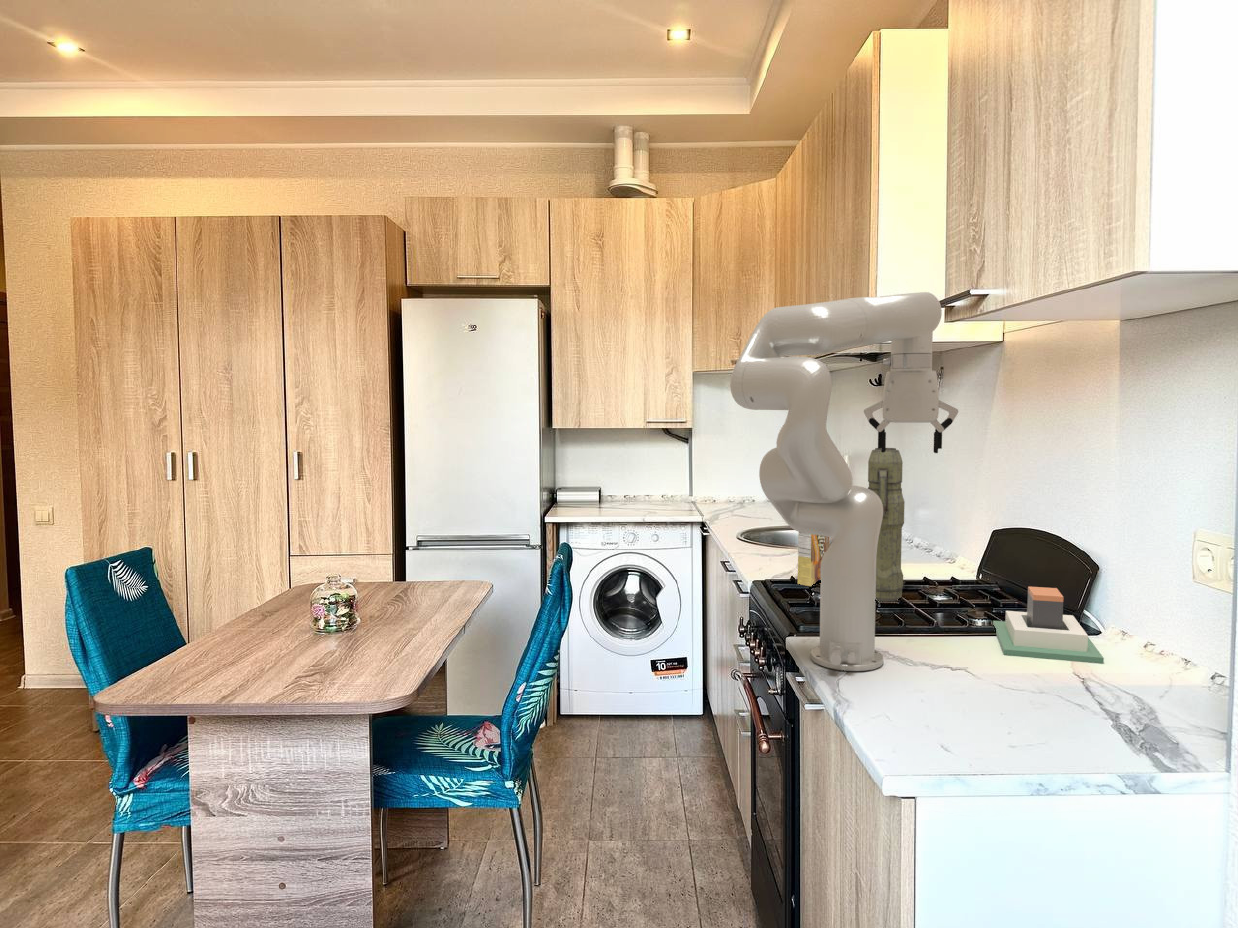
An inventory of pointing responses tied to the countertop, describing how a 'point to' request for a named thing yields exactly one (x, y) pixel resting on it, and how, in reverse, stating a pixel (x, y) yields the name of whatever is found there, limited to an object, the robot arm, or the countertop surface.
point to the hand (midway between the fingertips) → (909, 452)
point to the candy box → (810, 557)
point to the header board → (1043, 651)
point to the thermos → (888, 521)
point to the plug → (1044, 608)
